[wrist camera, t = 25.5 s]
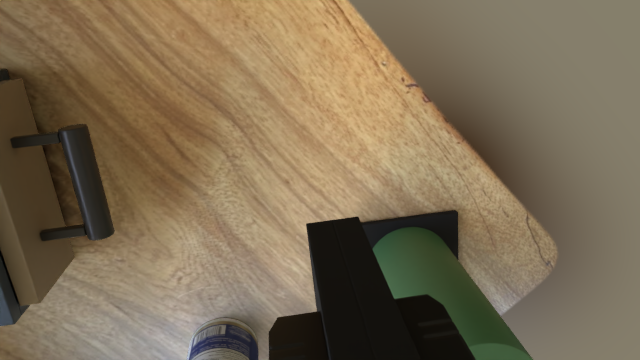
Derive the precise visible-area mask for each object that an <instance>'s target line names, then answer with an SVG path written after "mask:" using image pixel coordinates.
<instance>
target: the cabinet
mask: <svg viewBox="0 0 640 360" xmlns="http://www.w3.org/2000/svg"><path fill="white" fill-rule="evenodd" d="M3 80H10V78H9V75H8V71H7V69H1V70H0V81H3ZM29 306H30V305H23V306H20V305H19V302H18V299H17V296H16V293H15V290H14V287H13V285H12V282H11V279H10V278H9V279H8V276H7V273H6V270H5V267H4V264H3V261H2V259H1V256H0V326H5V325H12V324H15V323H16V322H17V321H18V319H19V318H20V317H21V315H22V314H23V313H24V312H25V311H26V309H27V308H28V307H29Z"/></svg>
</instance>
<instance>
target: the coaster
mask: <svg viewBox="0 0 640 360" xmlns="http://www.w3.org/2000/svg"><path fill="white" fill-rule="evenodd" d="M361 224H362V227H363V229H364V231H365V233H366V236H367V238H368V240H369V243H370V245H371V247H372V249H373V247H374V246H375V245H376V244H377V242H378V241H379V240H380V239H382V238H383V237H384V236H385V235H387V234H389V233H390V232H393V231H395V230H398V229H401V228H406V227H419V228H424V229H427V230H430V231H432V232H434V233H435V234H437V235H438V236H439V237H440V238H441V239H442V240H443V241H444V242H445V244H446V245H447V246H448V248H449V249H450V250H451V252H452V253H453V254H454V256H455V257H456V258H457V260H458V212H457V211H456V210H453V211H446V212H438V213H431V214H423V215H416V216H408V217H401V218H394V219H386V220H379V221H371V222H364V223H361Z"/></svg>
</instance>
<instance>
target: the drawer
mask: <svg viewBox="0 0 640 360" xmlns="http://www.w3.org/2000/svg"><path fill="white" fill-rule="evenodd" d="M60 142H61V144H62V148H63V151H64V155H65V159H66V162H67V166H68V169H69V173H70V176H71V180H72V184H73V187H74V191H75V194H76V198H77V201H78V205H79V209H80V212H81V216H82V219H83V223H84V224H82V225H74V226H67V227H66V226H65V223H64V219H63V216H62V212H61V209H60V206H59V202H58V199H57V195H56V192H55V189H54V185H53V182H52V178H51V175H50V172H49V168H48V165H47V161H46V158H45V155H44V151H43V148H42V145H47V144H56V143H60ZM114 232H115V230H114V226H113V222H112V219H111V215H110V211H109V207H108V203H107V199H106V195H105V192H104V188H103V184H102V180H101V176H100V172H99V168H98V165H97V161H96V157H95V153H94V149H93V145H92V141H91V138H90V134H89V130H88V126H87V125H86V124H76V125H70V126H65V127H62V128H60V129H58V131H57V132H49V133H40V134H38V131H37V127H36V124H35V121H34V117H33V114H32V110H31V107H30V104H29V100H28V97H27V93H26V90H25V87H24V83H23V80H22V79H21V78H20V79H11V80H3V81H0V256H1V259H2V261H3V264H4V267H5V270H6V273H7V276H8V279H9V278H10V279H11V282H12V285H13V287H14V290H15V293H16V296H17V299H18V302H19V305H20V306H23V305H30V304H38V303H40V302H41V301H42V300H43V298H44V297H45V296H46V294H47V293H48V292H49V290H50V289H51V288H52V286H53V285H54V284H55V283H56V281H57V280H58V279H59V277H60V276H61V275H62V273H63V272H64V271H65V269H66V268H67V267H68V266H69V264H70V263H71V262H72V260H73V259H74V253H73V250H72V246H71V243H70V240H69V238H72V237H80V236H86V235H87V237H88V239H89V240H101V239H105V238H107V237H110V236H111V235H113V234H114Z"/></svg>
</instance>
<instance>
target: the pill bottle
mask: <svg viewBox="0 0 640 360" xmlns="http://www.w3.org/2000/svg"><path fill="white" fill-rule="evenodd" d="M187 360H258V341H257V338H256V336H255V334H254V332H253V331H252V329H251V328H250V327H249V326H247V325H246V324H244V323H243V322H241V321H238V320H235V319H230V318H219V319H214V320H211V321H209V322H207V323H205V324H203V325H202V326H201V327H200V328H198V330H197V331H196V332H195V333H194V335H193V337H192V339H191V342H190V346H189V350H188V355H187Z"/></svg>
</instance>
